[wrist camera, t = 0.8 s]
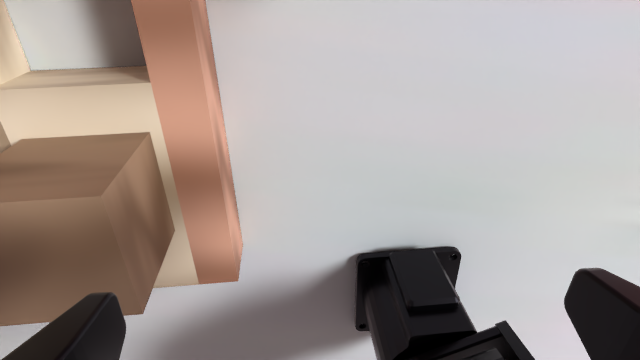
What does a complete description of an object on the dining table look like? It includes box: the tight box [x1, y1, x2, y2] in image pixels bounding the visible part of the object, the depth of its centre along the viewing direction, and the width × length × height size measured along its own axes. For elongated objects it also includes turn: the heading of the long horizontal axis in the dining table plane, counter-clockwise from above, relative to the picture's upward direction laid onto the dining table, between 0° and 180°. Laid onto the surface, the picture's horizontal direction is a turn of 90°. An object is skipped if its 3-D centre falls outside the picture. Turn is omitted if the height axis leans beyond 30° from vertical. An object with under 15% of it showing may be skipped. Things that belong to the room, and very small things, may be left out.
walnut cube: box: [0, 132, 175, 326], centre depth 15 cm, size 5×5×5 cm
